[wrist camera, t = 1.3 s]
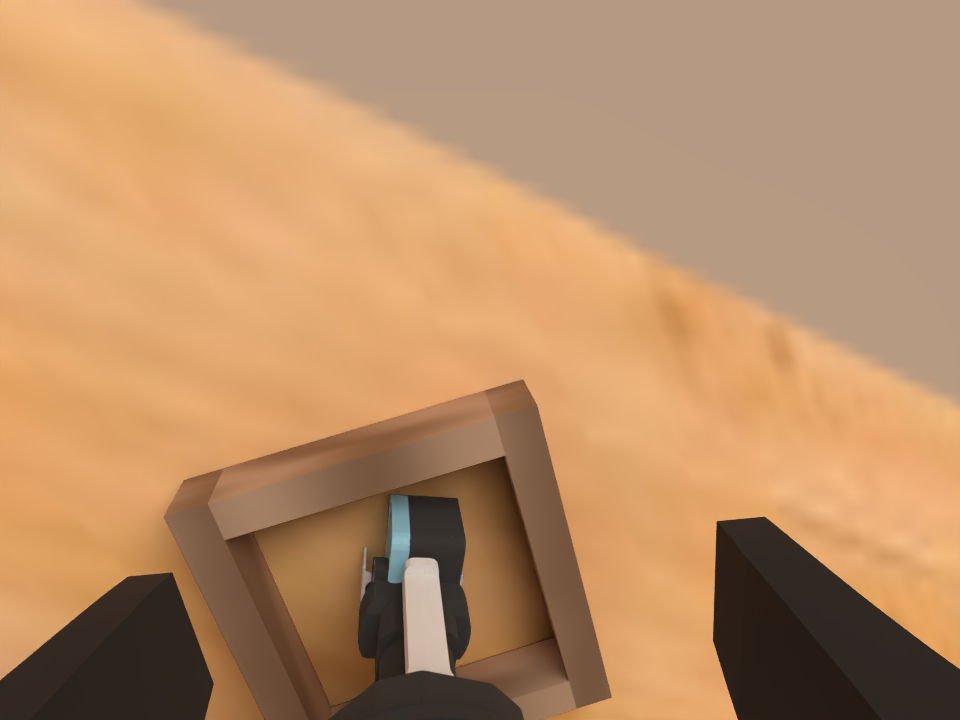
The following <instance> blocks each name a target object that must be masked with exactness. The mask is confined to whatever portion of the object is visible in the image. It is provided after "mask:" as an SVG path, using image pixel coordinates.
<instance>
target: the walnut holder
mask: <svg viewBox="0 0 960 720" xmlns="http://www.w3.org/2000/svg"><path fill="white" fill-rule="evenodd" d="M502 456H503V458H504V461H505V465H506V468H507V472H508V475H509V479H510V482H511V486H512V490H513V493H514V497H515V500H516V504H517V507H518V511H519V514H520V518H521V521H522V525H523V528H524V532H525V535H526V539H527V542H528V546H529V550H530V553H531V557H532V560H533V564H534V567H535V571H536V574H537V578H538V581H539V585H540V588H541V592H542V595H543V599H544V602H545V606H546V609H547V613H548V617H549V620H550V624H551V627H552V631H553V634H554V638H551V639H548V640H544V641H541V642H538V643H535V644H532V645H528V646H525V647H522V648H519V649H516V650H512V651H509V652H506V653H503V654H500V655H496V656H493V657H490V658H487V659H484V660H480V661H477V662H474V663H471V664H468V665H464V666H461V667H458V668H455V671H456V677H461V678H466V679H472V680H477V681H482V682H487V683H491V684H493V685H495V686H496V687H497V688H498V689H499V690H501V691H502V692H503V693H504V694H505V695H506V696H508V697H509V698H510V699H511V700H512V701H513V702H514V703H516V704H517V705H518V706H519V707H520V709H521V710H522V713H523V717H524V720H542V719H545V718H548V717H552V716H555V715H558V714H561V713H564V712H567V711H571V710H574V709H577V708H580V707H583V706H586V705H589V704H593V703H596V702H599V701H602V700H605V699H608V698H612V696H611V692H610V688H609V684H608V681H607V677H606V673H605V669H604V665H603V661H602V657H601V653H600V649H599V645H598V641H597V638H596V634H595V630H594V626H593V622H592V618H591V614H590V610H589V606H588V602H587V599H586V595H585V591H584V587H583V583H582V579H581V575H580V571H579V567H578V563H577V559H576V556H575V552H574V548H573V544H572V540H571V536H570V532H569V528H568V524H567V520H566V517H565V513H564V509H563V505H562V501H561V497H560V493H559V489H558V485H557V481H556V477H555V474H554V470H553V466H552V462H551V458H550V454H549V450H548V446H547V442H546V438H545V435H544V431H543V427H542V423H541V419H540V415H539V411H538V407H537V404H536V402H535V401H534V399H533V397H532V395H531V393H530V391H529V390H528V388H527V386H526V384H525V382H524V380H519V381H516V382H513V383H509V384H506V385H503V386H499V387H496V388H493V389H489V390H486V391H483V392H479V393H476V394H472V395H469V396H466V397H462V398H459V399H456V400H452V401H449V402H446V403H442V404H439V405H435V406H432V407H429V408H425V409H422V410H419V411H415V412H412V413H409V414H405V415H402V416H399V417H395V418H392V419H388V420H385V421H382V422H378V423H375V424H372V425H368V426H365V427H362V428H358V429H355V430H351V431H348V432H345V433H341V434H338V435H335V436H331V437H328V438H325V439H321V440H318V441H315V442H311V443H308V444H304V445H301V446H298V447H294V448H291V449H288V450H284V451H281V452H278V453H274V454H271V455H267V456H264V457H261V458H257V459H254V460H251V461H247V462H244V463H241V464H237V465H234V466H231V467H227V468H224V469H220V470H217V471H214V472H210V473H207V474H204V475H200V476H197V477H194V478H190V479H187V480H184V481H183V483H182V485H181V487H180V488H179V490H178V492H177V494H176V496H175V497H174V499H173V501H172V503H171V505H170V506H169V508H168V510H167V512H166V513H165V515H164V518H165V520H166V522H167V524H168V526H169V528H170V530H171V532H172V534H173V536H174V538H175V540H176V542H177V544H178V546H179V548H180V550H181V552H182V554H183V556H184V558H185V560H186V562H187V564H188V566H189V568H190V570H191V573H192V575H193V577H194V579H195V581H196V583H197V585H198V587H199V589H200V591H201V593H202V595H203V597H204V599H205V601H206V603H207V605H208V607H209V609H210V611H211V613H212V615H213V617H214V619H215V621H216V623H217V625H218V627H219V629H220V631H221V633H222V635H223V637H224V639H225V641H226V643H227V645H228V647H229V649H230V651H231V653H232V655H233V657H234V659H235V661H236V663H237V665H238V667H239V669H240V671H241V673H242V675H243V677H244V679H245V681H246V683H247V685H248V687H249V689H250V691H251V693H252V695H253V697H254V699H255V701H256V703H257V705H258V707H259V709H260V711H261V713H262V715H263V717H264V719H265V720H328V719H329V718H330V717H332V716H333V715H334V714H336V713H337V712H338V711H339V710H341V709H342V708H343V707H344V706H346V705H347V704H348V703H349V702H351V701H349V702H346V703H343V704H340V705H336V706H333V707H331V706H330V704H329V702H328V699H327V697H326V695H325V693H324V690H323V688H322V686H321V684H320V682H319V679H318V677H317V675H316V673H315V670H314V668H313V666H312V664H311V661H310V659H309V657H308V655H307V653H306V650H305V648H304V646H303V644H302V641H301V639H300V637H299V635H298V633H297V630H296V628H295V626H294V624H293V621H292V619H291V617H290V615H289V613H288V610H287V608H286V606H285V604H284V601H283V599H282V597H281V595H280V592H279V590H278V588H277V586H276V584H275V581H274V579H273V577H272V575H271V572H270V570H269V568H268V566H267V564H266V561H265V559H264V557H263V555H262V552H261V550H260V548H259V546H258V544H257V541H256V539H255V537H254V535H253V532H254V531H257V530H260V529H263V528H267V527H270V526H273V525H277V524H280V523H283V522H287V521H290V520H293V519H297V518H300V517H303V516H307V515H310V514H313V513H317V512H320V511H323V510H326V509H330V508H333V507H336V506H340V505H343V504H346V503H350V502H353V501H356V500H360V499H363V498H366V497H370V496H373V495H376V494H380V493H383V492H386V491H389V490H393V489H396V488H399V487H403V486H406V485H409V484H413V483H416V482H419V481H423V480H426V479H429V478H433V477H436V476H439V475H443V474H446V473H449V472H452V471H456V470H459V469H462V468H466V467H469V466H472V465H476V464H479V463H482V462H486V461H489V460H492V459H496V458H499V457H502Z"/></svg>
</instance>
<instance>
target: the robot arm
mask: <svg viewBox="0 0 960 720" xmlns="http://www.w3.org/2000/svg"><path fill="white" fill-rule="evenodd" d="M713 642H714V645H715V648H716V651H717V655H718V658H719V661H720V665H721V668H722V671H723V674H724V678H725V681H726V684H727V687H728V690H729V694H730V697H731V700H732V703H733V706H734V709H735V712H736V715H737V718H738V720H960V669H959V668H957V667H956V666H955V665H953V664H952V663H950V662H949V661H948V660H946V659H945V658H943V657H942V656H941V655H939V654H938V653H937V652H935V651H934V650H933V649H931V648H930V647H928V646H927V645H926V644H924V643H923V642H922V641H920V640H919V639H918V638H916V637H915V636H914V635H912V634H911V633H910V632H908V631H907V630H906V629H904V628H903V627H902V626H900V625H899V624H898V623H896V622H895V621H894V620H893V619H891V618H890V617H889V616H887V615H886V614H885V613H883V612H882V611H881V610H880V609H878V608H877V607H876V606H874V605H873V604H872V603H871V602H869V601H868V600H867V599H865V598H864V597H863V596H862V595H860V594H859V593H858V592H857V591H855V590H854V589H853V588H852V587H850V586H849V585H848V584H847V583H845V582H844V581H843V580H842V579H840V578H839V577H838V576H837V575H835V574H834V573H833V572H832V571H831V570H829V569H828V568H827V567H826V566H824V565H823V564H822V563H821V562H820V561H818V560H817V559H816V558H815V557H813V556H812V555H811V554H810V553H809V552H807V551H806V550H805V549H804V548H802V547H801V546H800V545H799V544H798V543H796V542H795V541H794V540H793V539H791V538H790V537H789V536H788V535H787V534H785V533H784V532H783V531H782V530H780V529H779V528H778V527H777V526H776V525H774V524H773V523H772V522H771V521H769V520H768V519H767V518H766V517H758V518H747V519H736V520H726V521H717V530H716V562H715V595H714V627H713ZM213 684H214V683H213V681H212V678H211V675H210V672H209V670H208V667H207V664H206V662H205V659H204V656H203V654H202V651H201V648H200V646H199V643H198V640H197V638H196V635H195V632H194V629H193V627H192V624H191V621H190V619H189V616H188V613H187V611H186V608H185V605H184V603H183V600H182V597H181V595H180V592H179V589H178V587H177V584H176V581H175V578H174V576H173V573H162V574H151V575H141V576H130V577H127V578H126V579H124V580H123V581H122V582H120V583H119V584H118V585H116V586H115V587H113V588H112V589H111V590H110V591H108V592H107V593H106V594H104V595H103V596H102V597H101V598H99V599H98V600H97V601H96V602H94V603H93V604H92V605H91V606H89V607H88V608H87V609H86V610H85V611H83V612H82V613H81V614H80V615H78V616H77V617H76V618H75V619H74V620H72V621H71V622H70V623H69V624H68V625H66V626H65V627H64V628H63V629H62V630H60V631H59V632H58V633H57V634H56V635H54V636H53V637H52V638H51V639H50V640H48V641H47V642H46V643H45V644H44V645H42V646H41V647H40V648H39V649H38V650H36V651H35V652H34V653H33V654H32V655H30V656H29V657H28V658H27V659H26V660H24V661H23V662H22V663H21V664H19V665H18V666H17V667H16V668H15V669H13V670H12V671H11V672H10V673H9V674H7V675H6V676H5V677H4V678H3V679H1V680H0V720H205V716H206V712H207V708H208V704H209V700H210V696H211V692H212V688H213Z"/></svg>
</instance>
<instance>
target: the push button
mask: <svg viewBox="0 0 960 720" xmlns="http://www.w3.org/2000/svg"><path fill="white" fill-rule="evenodd" d="M465 547H466V540H465V534H464V528H463V523H462V518H461V513H460V508H459V503H458V499H457V498H441V497H424V496H408V495H392V494H390V499H389V507H388V525H387V534H386V543H385V552H384V557H374V559H373V567H372V572H367V571H366V554H367V547H364V553H363V563H362V574H361V592H360V596H361V597H360V603H361V604H360V609H359V627H358V644H359V649H360V652H361V654H362V657H364V658H375V683H374V684H372V685H371V686H370V687H368V688H367V689H366V690H365V691H363V692H362V693H361V694H360V695H358V696H357V697H356V698H355V699H353V700H352V701H351V702H349V703H348V704H347V705H346V706H344V707H343V708H342V709H341V710H339V711H338V712H337V713H336V714H334V715H333V716H332V717H330V718H329V719H328V720H524V717H523V713H522V710H521V709H520V707H519V706H518V705H517V704H516V703H514V702H513V701H512V700H511V699H510V698H509V697H508V696H506V695H505V694H504V693H503V692H502V691H501V690H499V689H498V688H497V687H496V686H495V685H493V684H491V683H487V682H482V681H477V680H472V679H466V678H461V677H456V671H455V663H456V660H457V659H460V658H461V657H462V656H463V654H464V652H465V651H466V649H467V646H468V644H469V640H470V635H471V626H470V618H469V613H468V607H467V601H466V597H465V593H464V591H463V589H462V582H463V574H462V568H463V562H464V555H465Z"/></svg>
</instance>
